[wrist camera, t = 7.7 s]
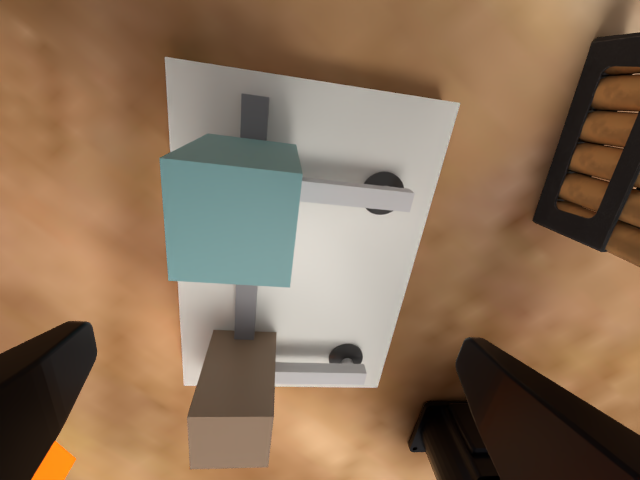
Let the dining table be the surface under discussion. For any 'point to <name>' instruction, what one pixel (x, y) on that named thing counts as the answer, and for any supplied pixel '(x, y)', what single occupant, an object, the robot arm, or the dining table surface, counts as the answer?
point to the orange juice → (55, 464)
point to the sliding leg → (246, 208)
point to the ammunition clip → (600, 155)
